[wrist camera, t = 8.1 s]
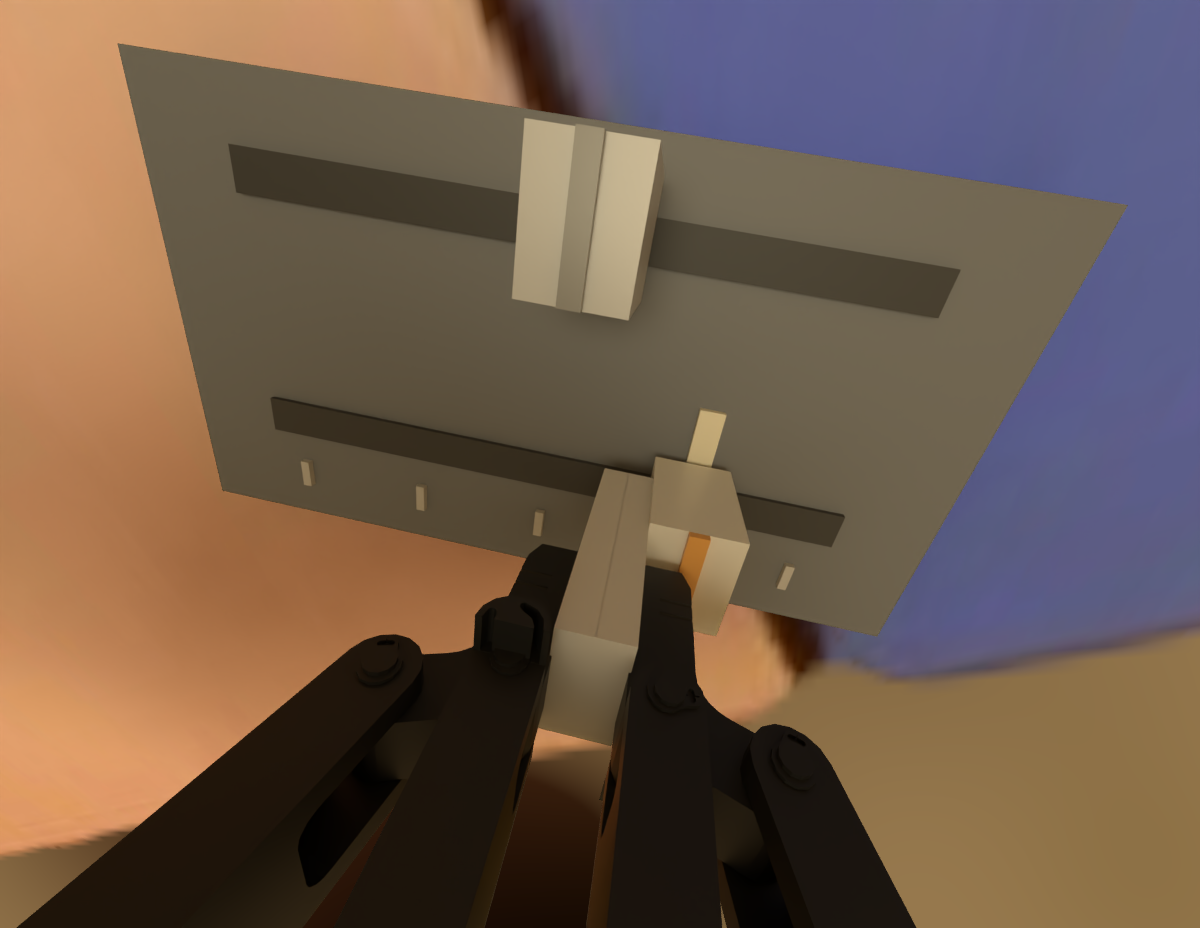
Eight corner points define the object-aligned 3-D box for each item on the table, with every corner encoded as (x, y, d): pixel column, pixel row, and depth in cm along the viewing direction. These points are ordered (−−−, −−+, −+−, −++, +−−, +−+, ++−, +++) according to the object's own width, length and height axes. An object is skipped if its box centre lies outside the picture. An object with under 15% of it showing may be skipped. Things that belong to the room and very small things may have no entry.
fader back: (637, 533, 16) (626, 621, 12) (655, 456, 15) (650, 527, 11) (705, 548, 16) (716, 642, 12) (730, 471, 14) (751, 549, 11)
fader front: (556, 285, 13) (509, 299, 9) (570, 160, 12) (520, 114, 8) (641, 301, 13) (627, 321, 9) (664, 175, 11) (660, 137, 8)
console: (258, 471, 20) (217, 493, 18) (182, 67, 14) (107, 39, 12) (858, 602, 18) (879, 641, 17) (1068, 211, 12) (1137, 204, 10)
